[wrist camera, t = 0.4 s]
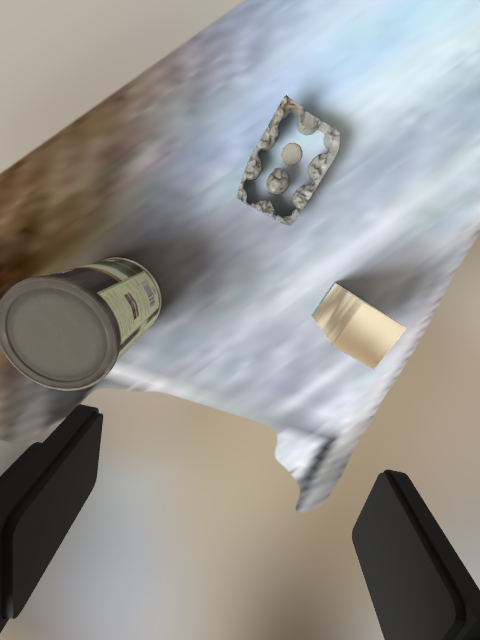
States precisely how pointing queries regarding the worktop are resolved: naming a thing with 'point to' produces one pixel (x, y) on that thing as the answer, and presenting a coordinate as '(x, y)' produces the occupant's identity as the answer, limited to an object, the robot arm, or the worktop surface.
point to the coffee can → (77, 321)
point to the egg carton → (290, 160)
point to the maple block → (356, 326)
